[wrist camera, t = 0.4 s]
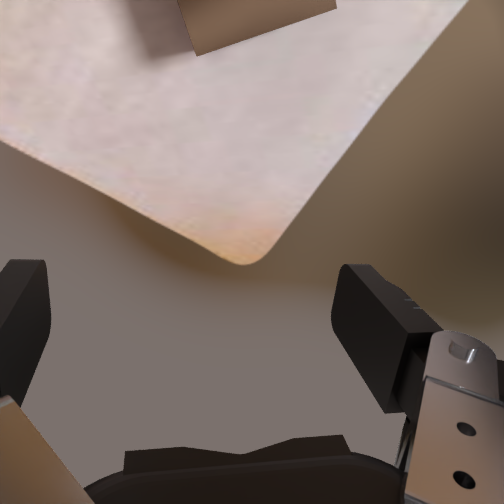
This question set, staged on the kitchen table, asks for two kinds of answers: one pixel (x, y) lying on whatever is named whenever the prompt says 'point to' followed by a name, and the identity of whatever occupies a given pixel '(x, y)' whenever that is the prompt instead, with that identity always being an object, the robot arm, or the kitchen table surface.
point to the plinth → (242, 19)
